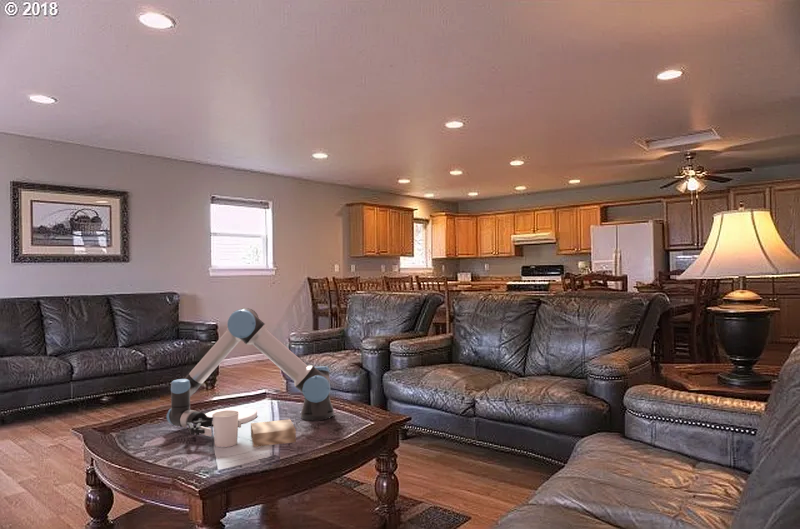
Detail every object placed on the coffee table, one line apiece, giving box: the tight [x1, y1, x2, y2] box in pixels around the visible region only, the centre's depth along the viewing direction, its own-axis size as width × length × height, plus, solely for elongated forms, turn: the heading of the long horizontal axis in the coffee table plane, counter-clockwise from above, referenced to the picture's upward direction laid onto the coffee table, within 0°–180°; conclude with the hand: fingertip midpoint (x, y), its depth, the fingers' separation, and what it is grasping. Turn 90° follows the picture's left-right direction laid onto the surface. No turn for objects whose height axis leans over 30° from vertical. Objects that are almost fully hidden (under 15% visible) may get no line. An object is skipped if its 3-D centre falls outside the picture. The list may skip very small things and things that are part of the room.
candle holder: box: [212, 410, 239, 448], centre depth 214 cm, size 10×10×12 cm
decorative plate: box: [204, 406, 258, 424], centre depth 253 cm, size 25×4×25 cm
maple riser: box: [250, 418, 297, 448], centre depth 220 cm, size 16×16×5 cm
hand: (225, 428), depth 214 cm, fingers open, 13 cm apart
